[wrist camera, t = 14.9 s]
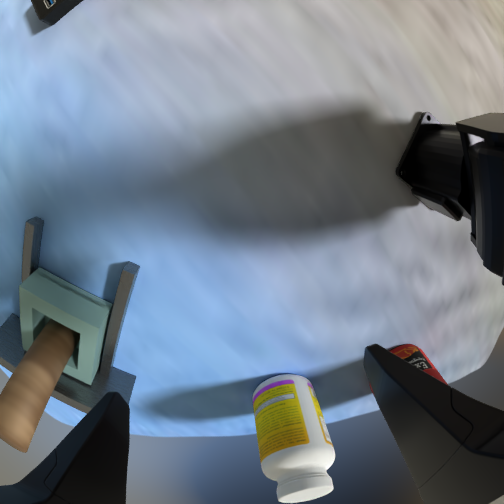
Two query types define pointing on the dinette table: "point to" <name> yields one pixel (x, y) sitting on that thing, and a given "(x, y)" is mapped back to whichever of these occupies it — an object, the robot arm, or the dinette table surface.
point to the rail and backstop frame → (107, 377)
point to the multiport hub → (53, 9)
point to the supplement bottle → (293, 438)
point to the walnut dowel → (34, 383)
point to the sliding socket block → (65, 319)
